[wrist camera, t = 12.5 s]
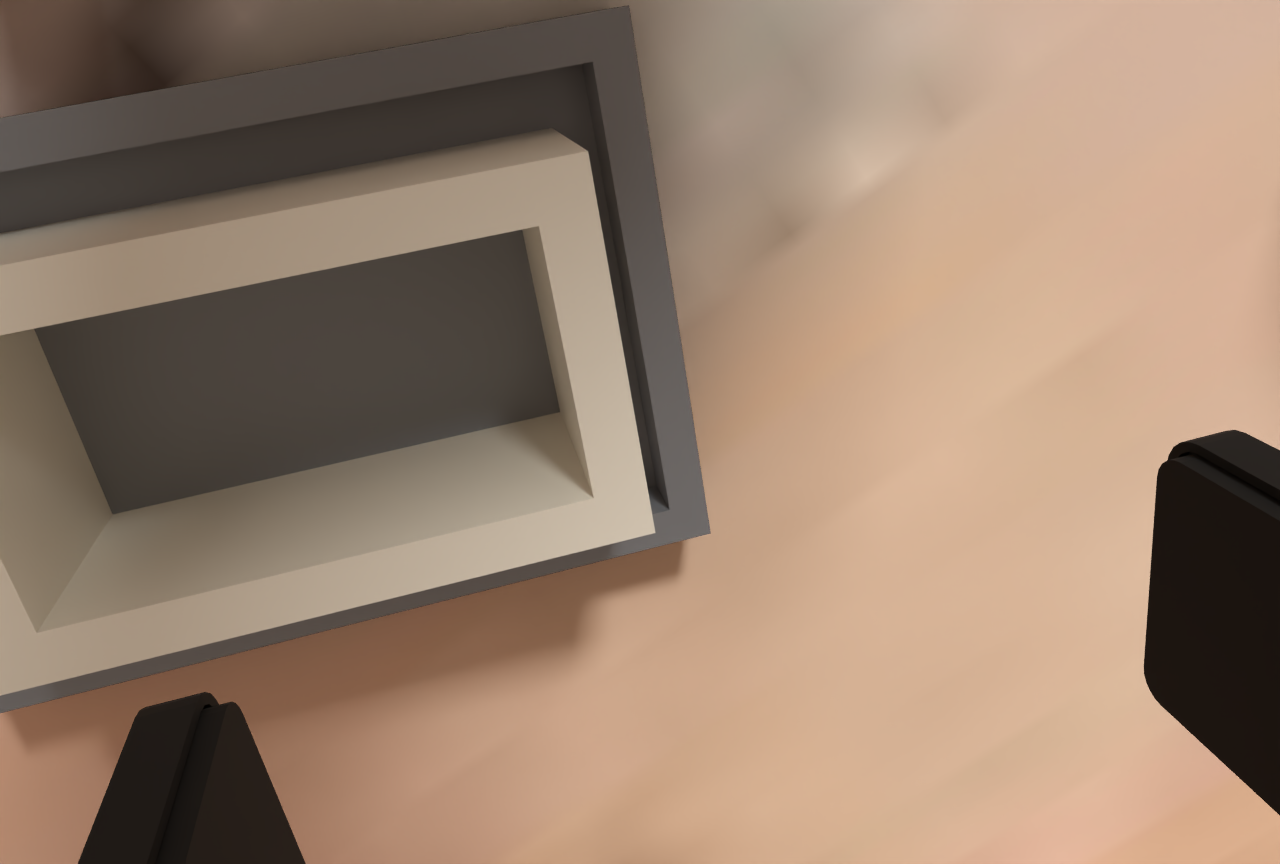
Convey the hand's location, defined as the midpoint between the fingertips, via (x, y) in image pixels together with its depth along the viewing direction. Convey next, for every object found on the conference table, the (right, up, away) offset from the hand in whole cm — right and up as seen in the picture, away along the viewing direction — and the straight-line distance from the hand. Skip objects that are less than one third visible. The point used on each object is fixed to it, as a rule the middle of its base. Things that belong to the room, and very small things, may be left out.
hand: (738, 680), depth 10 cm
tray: (-10, +4, +15) cm, 19 cm away
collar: (-9, +4, +15) cm, 18 cm away
